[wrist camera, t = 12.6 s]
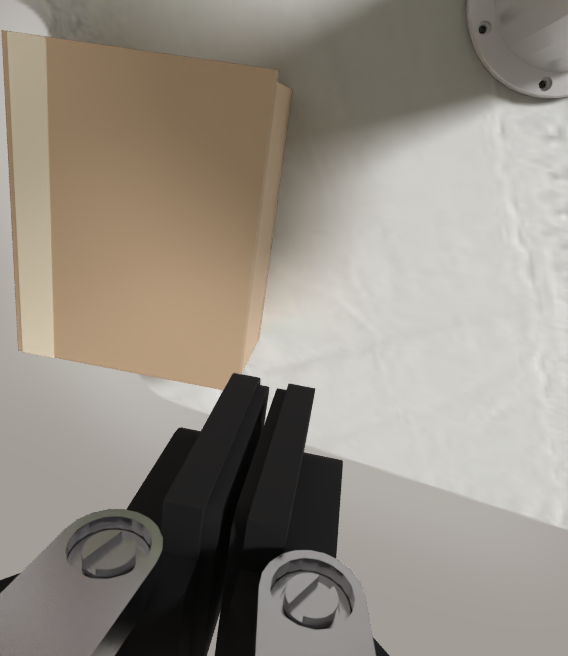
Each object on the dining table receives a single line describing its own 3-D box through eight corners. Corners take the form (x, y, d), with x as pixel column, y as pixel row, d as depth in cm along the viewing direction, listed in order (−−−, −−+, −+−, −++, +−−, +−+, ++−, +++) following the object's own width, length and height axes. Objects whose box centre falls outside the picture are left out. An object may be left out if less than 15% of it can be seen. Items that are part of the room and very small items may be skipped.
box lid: (12, 33, 32) (0, 30, 31) (278, 71, 31) (275, 69, 30) (26, 345, 40) (17, 351, 39) (240, 386, 39) (236, 393, 38)
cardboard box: (85, 59, 40) (21, 43, 33) (292, 89, 39) (274, 80, 31) (85, 305, 48) (33, 338, 40) (259, 338, 46) (238, 378, 39)
